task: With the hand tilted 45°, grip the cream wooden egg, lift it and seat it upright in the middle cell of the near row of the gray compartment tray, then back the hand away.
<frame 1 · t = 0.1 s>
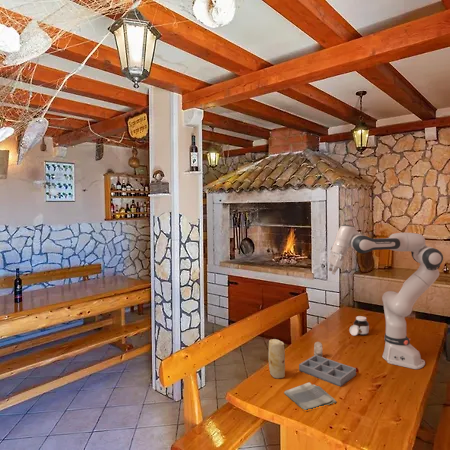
hand: (331, 272, 215), 52 cm above the table, tool tilted 20°, fingers open, 8 cm apart
dish towel: (310, 399, 174), on the table
egg: (318, 357, 218), on the table
spread jar: (359, 334, 254), on the table
food model: (276, 376, 196), on the table
gray compartment tray: (327, 373, 199), on the table
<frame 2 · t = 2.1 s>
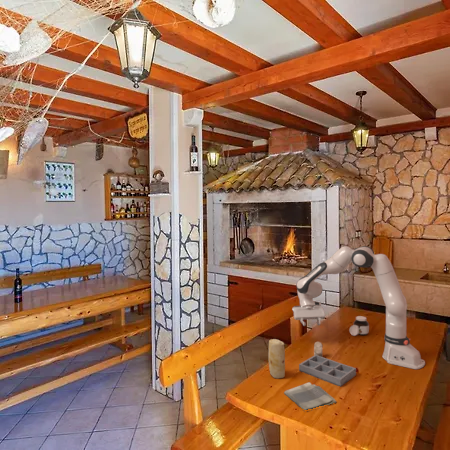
hand: (311, 325, 230), 16 cm above the table, tool tilted 45°, fingers open, 8 cm apart
nothing on the table moved.
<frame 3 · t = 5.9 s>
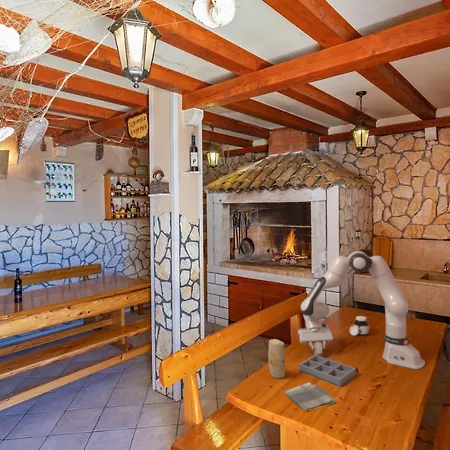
hand: (318, 349, 217), 5 cm above the table, tool tilted 45°, fingers closed on egg, 5 cm apart
egg: (318, 357, 218), on the table, touching gripper
everything else where it was.
when the fingers open (8 cm above the table, at t = 12.5 s): egg drops 1 cm, resting on gray compartment tray.
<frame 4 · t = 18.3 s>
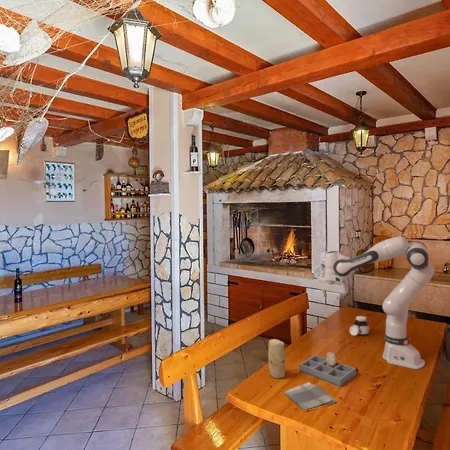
hand: (331, 298, 227), 33 cm above the table, tool pointing down, fingers open, 8 cm apart
egg: (330, 369, 201), point 1 cm above the table, touching gray compartment tray
everything else where it was.
at the end: egg 0.1 cm from the target spot on the gray compartment tray, point 0.8 cm above the gray compartment tray's base; egg tilted 1°; the gripper is holding nothing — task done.
